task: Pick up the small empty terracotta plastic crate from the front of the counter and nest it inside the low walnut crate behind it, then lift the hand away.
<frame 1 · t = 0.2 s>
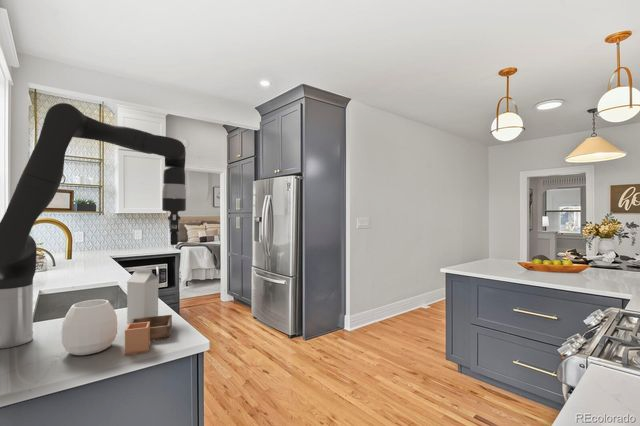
hand: (173, 243, 115), 29 cm above the worktop, tool pointing down, fingers open, 8 cm apart
milk carton: (143, 322, 119), on the worktop
white round vase: (90, 350, 94), on the worktop
terracotta crate: (137, 349, 94), on the worktop
walnut crate: (150, 334, 106), on the worktop
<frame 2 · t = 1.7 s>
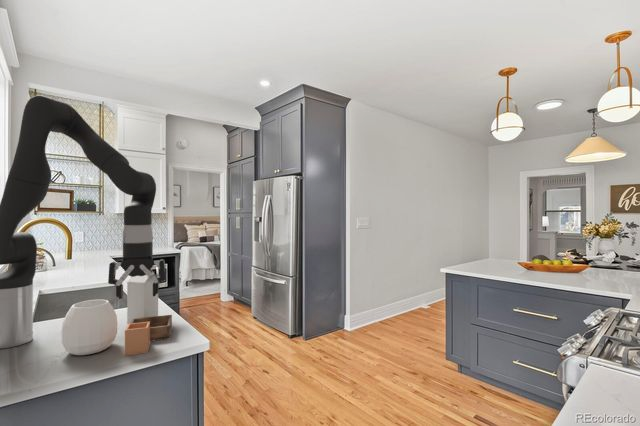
hand: (138, 296, 94), 15 cm above the worktop, tool pointing down, fingers open, 8 cm apart
nothing on the worktop moved.
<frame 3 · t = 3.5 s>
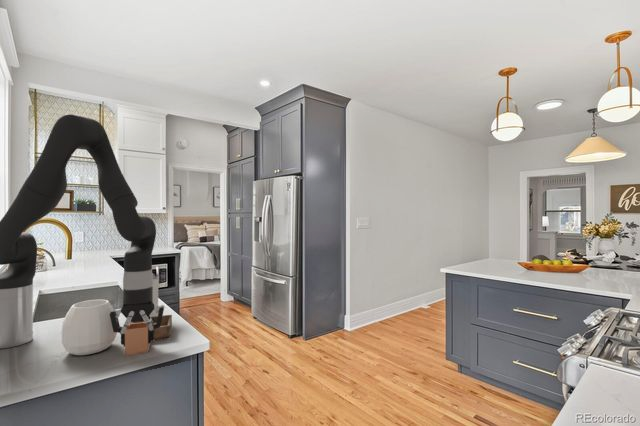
hand: (137, 343, 94), 2 cm above the worktop, tool pointing down, fingers closed on terracotta crate, 5 cm apart
terracotta crate: (137, 349, 94), on the worktop, touching gripper
everything else where it was.
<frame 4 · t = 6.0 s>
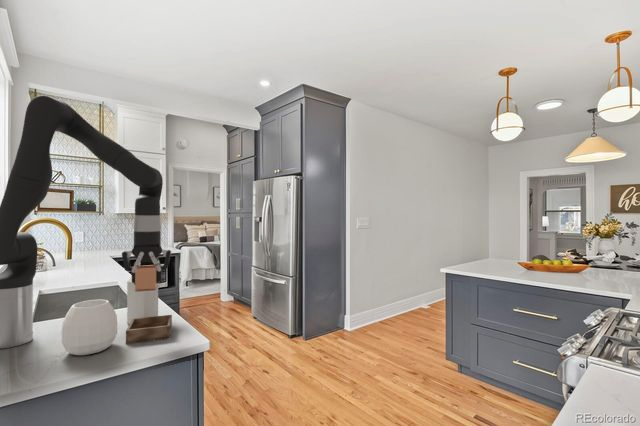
hand: (147, 283, 103), 17 cm above the worktop, tool pointing down, fingers closed on terracotta crate, 5 cm apart
terracotta crate: (146, 288, 103), point 16 cm above the worktop, touching gripper
everything else where it was.
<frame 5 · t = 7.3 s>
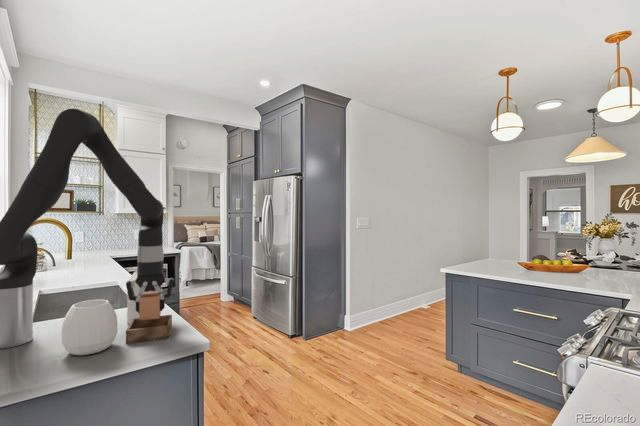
hand: (150, 311, 106), 8 cm above the worktop, tool pointing down, fingers closed on terracotta crate, 5 cm apart
terracotta crate: (150, 316, 106), point 6 cm above the worktop, touching gripper
everything else where it was.
when the fingers open (4 cm above the worktop, at t = 8.6 s): terracotta crate drops 1 cm, resting on walnut crate.
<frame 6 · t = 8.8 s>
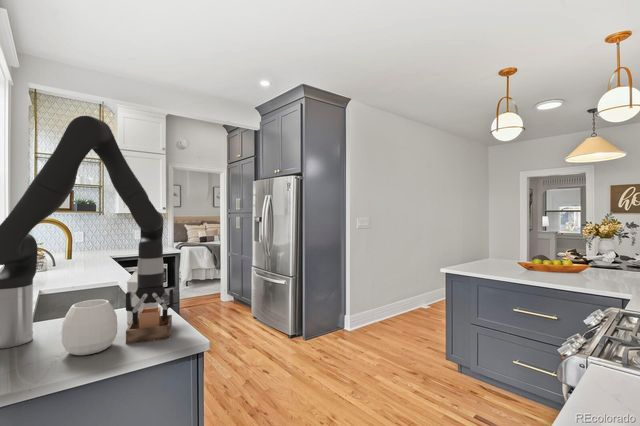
hand: (150, 321, 106), 4 cm above the worktop, tool pointing down, fingers open, 7 cm apart
terracotta crate: (150, 332, 106), point 1 cm above the worktop, touching walnut crate
everything else where it was.
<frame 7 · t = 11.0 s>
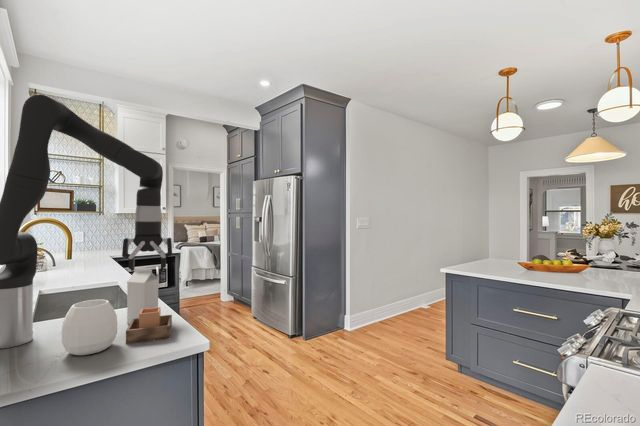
hand: (147, 269, 106), 21 cm above the worktop, tool pointing down, fingers open, 8 cm apart
nothing on the worktop moved.
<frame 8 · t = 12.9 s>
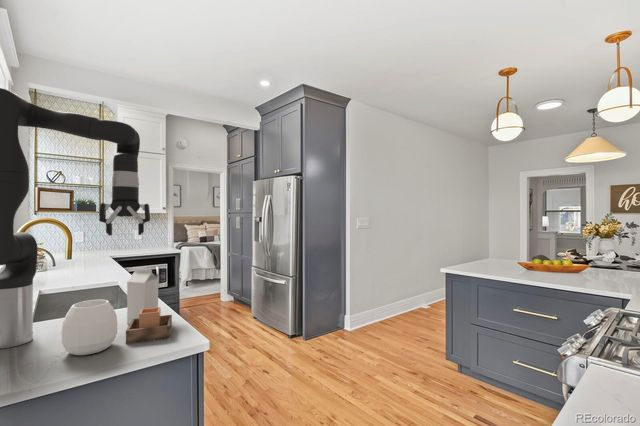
hand: (125, 235, 108), 32 cm above the worktop, tool pointing down, fingers open, 8 cm apart
nothing on the worktop moved.
at the end: terracotta crate 0.1 cm off-centre on the walnut crate, point 0.8 cm above the walnut crate's base; terracotta crate tilted 0°; the gripper is holding nothing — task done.
